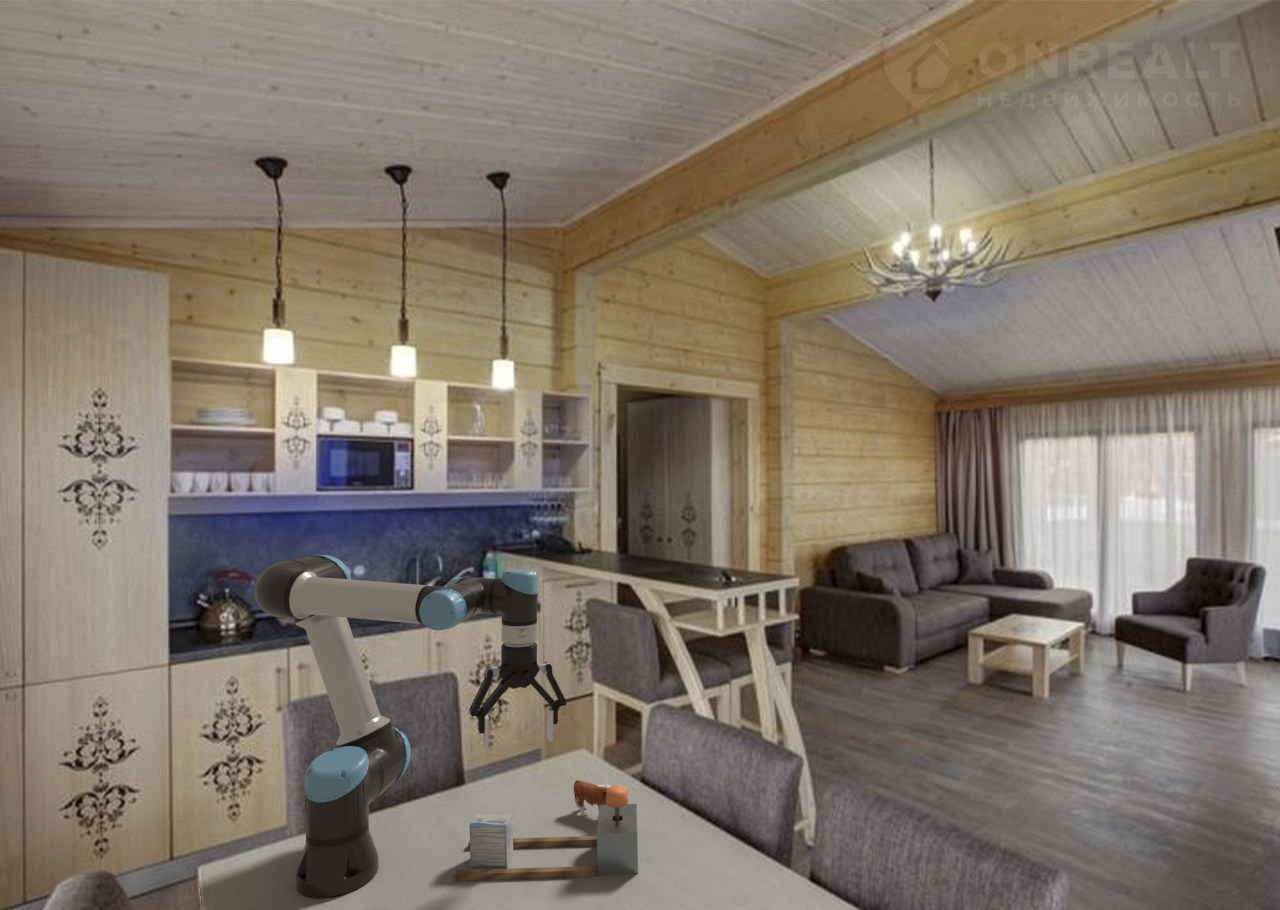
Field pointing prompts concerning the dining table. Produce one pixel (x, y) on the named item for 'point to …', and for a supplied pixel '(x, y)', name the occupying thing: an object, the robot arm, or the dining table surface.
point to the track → (535, 872)
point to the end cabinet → (617, 840)
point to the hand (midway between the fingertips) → (518, 743)
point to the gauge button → (617, 799)
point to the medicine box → (491, 840)
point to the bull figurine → (589, 794)
